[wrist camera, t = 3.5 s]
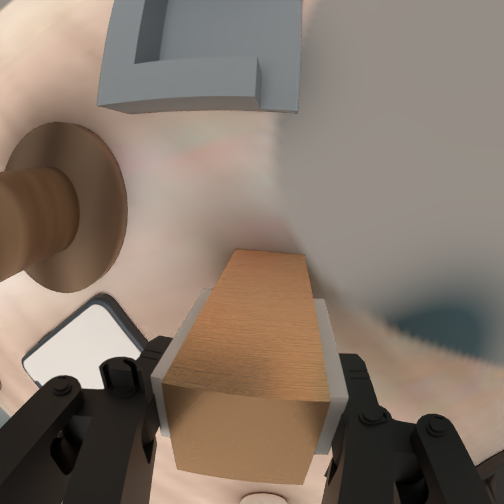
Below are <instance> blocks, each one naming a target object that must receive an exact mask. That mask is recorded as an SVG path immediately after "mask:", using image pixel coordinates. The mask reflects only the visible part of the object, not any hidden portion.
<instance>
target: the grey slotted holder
mask: <svg viewBox="0 0 504 504" xmlns="http://www.w3.org/2000/svg"><path fill="white" fill-rule="evenodd" d="M301 16H302V0H114V4H113V8H112V13H111V17H110V22H109V27H108V31H107V37H106V42H105V48H104V54H103V60H102V66H101V73H100V81H99V90H98V99H97V106H99V107H104V108H108V109H112V110H116V111H120V112H124V113H127V114H138V113H151V112H166V111H190V110H244V111H268V112H284V113H298V104H299V82H300V56H301Z"/></svg>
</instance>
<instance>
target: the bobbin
mask: <svg viewBox="0 0 504 504" xmlns="http://www.w3.org/2000/svg"><path fill="white" fill-rule="evenodd" d="M126 225H127V197H126V191H125V185H124V181H123V178H122V174H121V171H120V169H119V166H118V164H117V161H116V160H115V158H114V156H113V154H112V152H111V151H110V149H109V148H108V147H107V145H106V144H105V143H104V142H103V141H102V140H101V138H100V137H99V136H97V135H96V134H95V133H93V132H92V131H91V130H89V129H87V128H85V127H83V126H80V125H76V124H69V123H59V122H54V123H47V124H44V125H41V126H39V127H37V128H35V129H33V130H32V131H31V132H29V133H28V134H27V135H26V136H25V137H24V138H23V139H22V140H21V141H20V142H19V144H18V145H17V146H16V148H15V149H14V151H13V153H12V154H11V157H10V159H9V161H8V163H7V166H6V169H5V172H0V282H2V281H3V280H5V279H7V278H9V277H11V276H13V275H15V274H17V273H19V272H21V271H23V270H24V271H25V272H26V273H27V274H28V275H29V276H30V277H31V278H32V279H33V280H35V281H36V282H37V283H39V284H40V285H42V286H43V287H45V288H48V289H50V290H53V291H56V292H62V293H72V292H76V291H80V290H82V289H84V288H87V287H88V286H90V285H91V284H92V283H94V282H95V281H97V280H98V279H100V278H101V277H102V276H103V275H104V274H105V273H106V272H107V271H108V270H109V269H110V268H111V266H112V265H113V264H114V262H115V260H116V258H117V257H118V255H119V252H120V250H121V247H122V244H123V241H124V237H125V232H126Z"/></svg>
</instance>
